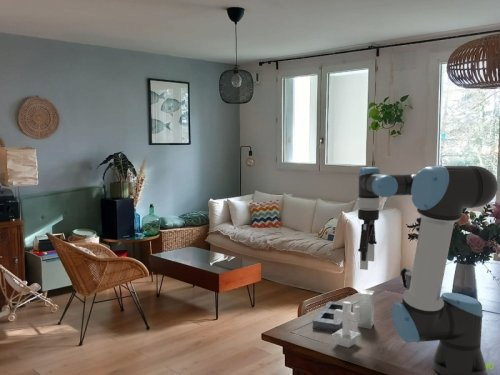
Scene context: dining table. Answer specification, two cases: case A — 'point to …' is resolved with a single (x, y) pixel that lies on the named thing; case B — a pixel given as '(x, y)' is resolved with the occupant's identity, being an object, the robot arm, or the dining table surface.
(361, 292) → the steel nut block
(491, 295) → the dining table surface
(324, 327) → the dark grey flat block
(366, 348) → the dining table surface
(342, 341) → the figurine
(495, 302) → the dining table surface
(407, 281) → the coffeepot
